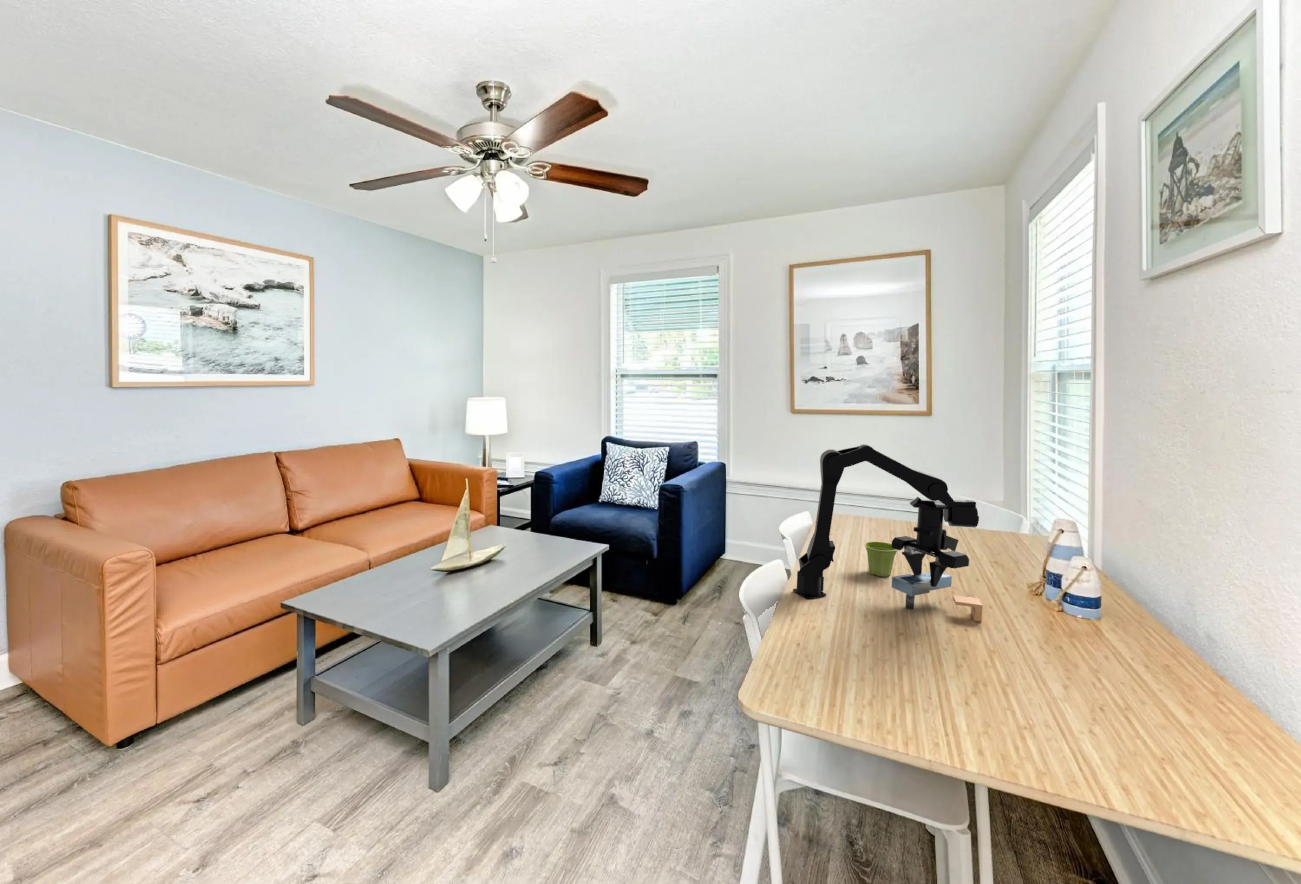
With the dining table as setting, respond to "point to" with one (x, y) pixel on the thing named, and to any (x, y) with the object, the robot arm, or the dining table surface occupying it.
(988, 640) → the dining table surface
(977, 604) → the keeper
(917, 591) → the link
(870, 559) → the plant pot
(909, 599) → the cylinder
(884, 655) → the dining table surface
